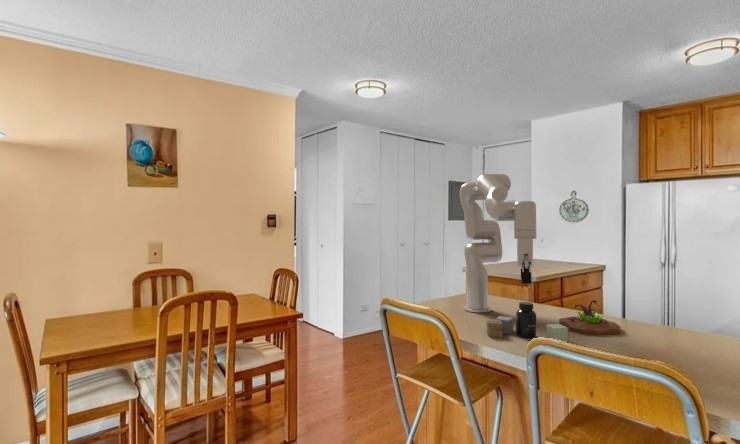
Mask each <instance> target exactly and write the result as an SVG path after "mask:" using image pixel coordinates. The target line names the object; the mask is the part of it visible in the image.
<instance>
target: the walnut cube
mask: <svg viewBox="0 0 740 444" xmlns="http://www.w3.org/2000/svg"><path fill="white" fill-rule="evenodd" d="M486 334H487V336H488V337H492V338H503V336H504V333H503V324H502V322H501V320H496V319H486Z"/></svg>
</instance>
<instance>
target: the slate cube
mask: <svg viewBox="0 0 740 444" xmlns="http://www.w3.org/2000/svg"><path fill="white" fill-rule="evenodd" d="M495 320H501V322H502V324H503V334H509V335H510V334H511V333H512V332H513V331H514V317H511V316H510V317H509V316H502V315H499V316H497V317H496V318H495Z"/></svg>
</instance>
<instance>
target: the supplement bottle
mask: <svg viewBox="0 0 740 444" xmlns="http://www.w3.org/2000/svg"><path fill="white" fill-rule="evenodd" d="M518 305H519V306H518V308H519V309H517V310H516V311H515V312H516V313H515V314H516V316H515V322H516V323H515V330H516V331H515V333H516V336H517V337H519V338H524V339H534V338H536V336H537V314H536V311H534V304H533V303H532V302H528V301H520V302H519V303H518Z"/></svg>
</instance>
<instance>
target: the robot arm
mask: <svg viewBox="0 0 740 444" xmlns="http://www.w3.org/2000/svg"><path fill="white" fill-rule="evenodd" d="M511 186H512V183H511V178H510V177H509V176H508V175H506V174H504V173H484V174H481V175H480V176H479V177H478V178H477V179H476V181H471V182H466V183H463V184H462V185H461V187H460V189H459V201H460V204H461V207H462V211H463V215H464V229H465V234H466V238H467V239H468V240H473V241H487V242H471V243H468V244H467V245H465V247H464V250H463V252H464V259H465V264H466V265H465V266H466V267H465V268H466V305H463V310H464V311H466V312H471V313H480V314H481V313H483V314H484V313H489V312H492V307H491V306H489V292H488V291H489V290H488V289H489V287H488V286H489V285H488V284H489V281H488V278H489V277H488V276H489V275H488V271H487V268H486V267H485V266H484V264H486V263H487V264H488V263H498V262H500V261H501V260H502V258H503V243H502V234H501V228H500V225H499V223H498V222H513V229H514V231H513V232H514V237H513V238H514V240H517V243H516V244H517V245H516V258H517V259H516V260H517V261H516V262H517V266H518V267H520V266H521V267H520V279H521V284H526V285H527V284H528V285H531V284H532V272H531V269H532V266H533V261H534V260H533V257H534V241H533V240H536V239H537V204H536V202H534V201H533V200H518V201H505V200H506V199H507V198H508V195H509V191H510V189H511ZM476 201H484V202H485V203H484V205H485V210H486V213H487V214H488V215H489V217H490V218H492V219H484V217H483V216H484V215H483V209H482V208H481V206H480V205H479V204H478V203H477V202H476Z"/></svg>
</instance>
